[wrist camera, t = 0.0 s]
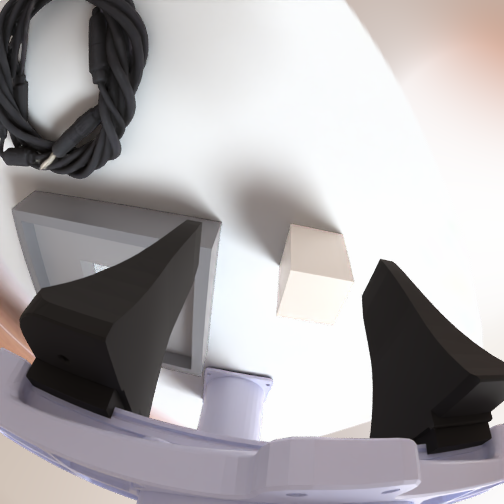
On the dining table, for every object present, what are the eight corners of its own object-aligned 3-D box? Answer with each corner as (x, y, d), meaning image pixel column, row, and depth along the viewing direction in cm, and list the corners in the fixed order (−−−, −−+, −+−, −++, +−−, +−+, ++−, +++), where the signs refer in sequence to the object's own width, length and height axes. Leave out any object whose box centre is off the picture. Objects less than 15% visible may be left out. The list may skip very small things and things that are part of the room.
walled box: (207, 350, 33) (200, 376, 30) (65, 311, 32) (52, 332, 30) (221, 222, 23) (211, 249, 20) (34, 190, 23) (11, 209, 20)
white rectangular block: (327, 275, 25) (333, 325, 21) (279, 265, 25) (276, 316, 21) (342, 234, 23) (354, 281, 18) (290, 223, 23) (290, 270, 18)
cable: (44, -34, 11) (8, -38, 8) (195, -26, 13) (172, -44, 10) (6, 145, 21) (-25, 163, 17) (123, 191, 23) (96, 218, 19)
